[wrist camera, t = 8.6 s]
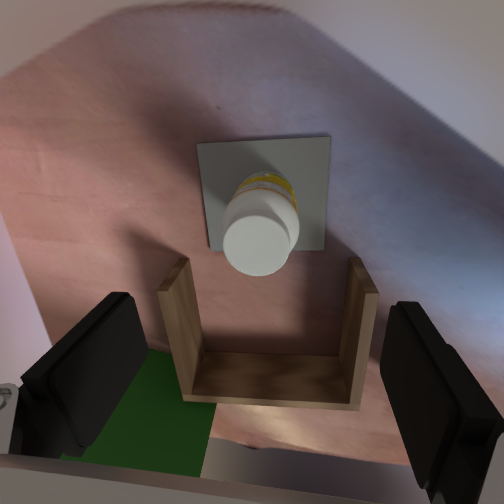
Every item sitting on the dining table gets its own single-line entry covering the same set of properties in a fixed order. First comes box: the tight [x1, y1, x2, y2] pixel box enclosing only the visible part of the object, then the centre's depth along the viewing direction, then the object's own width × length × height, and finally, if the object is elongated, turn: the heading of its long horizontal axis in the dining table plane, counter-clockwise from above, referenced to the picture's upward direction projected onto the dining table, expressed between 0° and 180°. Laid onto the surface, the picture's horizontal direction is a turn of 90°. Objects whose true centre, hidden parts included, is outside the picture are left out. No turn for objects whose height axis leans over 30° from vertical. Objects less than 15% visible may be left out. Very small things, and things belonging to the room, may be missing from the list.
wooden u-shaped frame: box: [156, 258, 379, 411], centre depth 28 cm, size 18×14×6 cm
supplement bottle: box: [221, 171, 299, 276], centre depth 20 cm, size 5×5×10 cm
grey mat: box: [196, 136, 331, 251], centre depth 25 cm, size 11×10×1 cm
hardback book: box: [59, 348, 217, 478], centre depth 26 cm, size 18×7×24 cm, turn 76°
